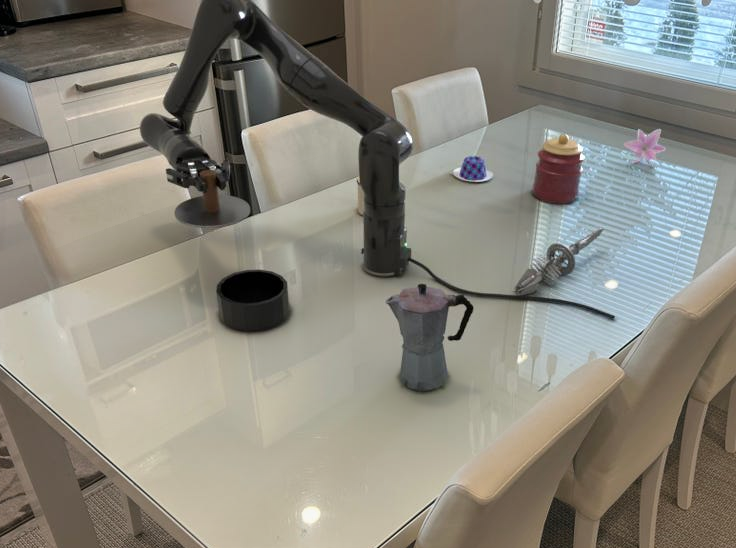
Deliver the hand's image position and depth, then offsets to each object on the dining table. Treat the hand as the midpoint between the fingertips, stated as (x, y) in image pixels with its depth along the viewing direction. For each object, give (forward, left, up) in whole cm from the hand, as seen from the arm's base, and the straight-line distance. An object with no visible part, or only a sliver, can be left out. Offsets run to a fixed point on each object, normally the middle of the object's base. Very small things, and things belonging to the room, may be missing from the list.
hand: (213, 187), depth 144 cm
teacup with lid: (-19, -50, -24) cm, 59 cm away
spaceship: (-69, -30, -24) cm, 79 cm away
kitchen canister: (-64, -76, -24) cm, 103 cm away
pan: (-9, +7, -24) cm, 26 cm away
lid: (+2, -2, -7) cm, 7 cm away
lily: (-89, -114, -24) cm, 147 cm away
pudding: (-39, -82, -24) cm, 94 cm away
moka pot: (-48, +18, -24) cm, 57 cm away
